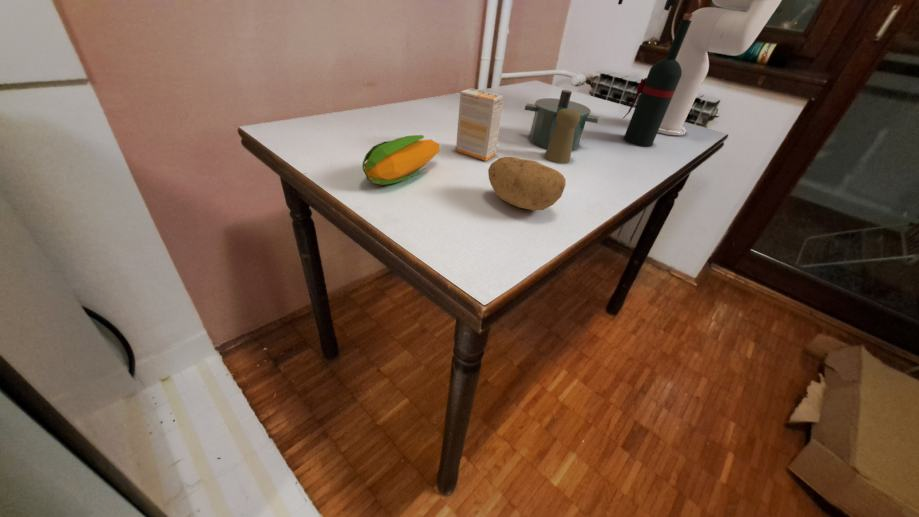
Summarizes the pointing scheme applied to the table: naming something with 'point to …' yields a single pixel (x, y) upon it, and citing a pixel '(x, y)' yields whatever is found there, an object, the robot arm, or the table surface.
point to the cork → (563, 136)
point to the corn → (398, 159)
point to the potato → (526, 183)
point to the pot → (552, 127)
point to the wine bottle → (656, 93)
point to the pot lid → (562, 104)
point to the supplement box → (478, 123)
